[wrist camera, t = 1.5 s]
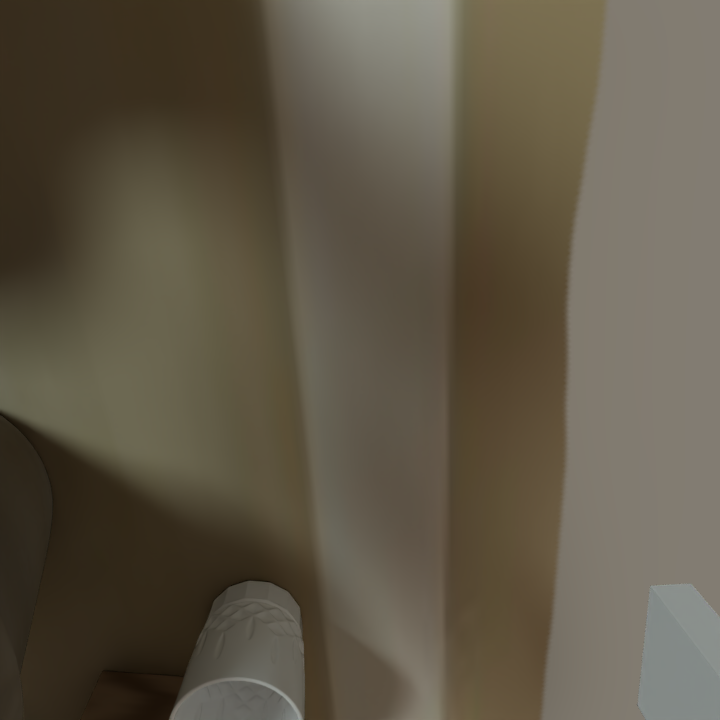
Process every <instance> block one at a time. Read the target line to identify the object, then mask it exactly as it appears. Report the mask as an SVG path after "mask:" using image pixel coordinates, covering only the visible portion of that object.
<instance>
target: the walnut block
mask: <svg viewBox="0 0 720 720" xmlns="http://www.w3.org/2000/svg"><path fill="white" fill-rule="evenodd" d="M183 678H184V677H179V676H166V675H152V674H138V673H125V672H111V671H102V673H101V675H100V678H99V680H98V682H97V684H96V686H95V689H94V691H93V693H92V695H91V697H90V700H89V702H88V704H87V706H86V708H85V711H84V713H83V715H82V717H81V719H80V720H169V718H170V715H171V712H172V709H173V707H174V704H175V701H176V698H177V695H178V692H179V690H180V687H181V684H182V681H183Z"/></svg>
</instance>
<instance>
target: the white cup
mask: <svg viewBox="0 0 720 720" xmlns="http://www.w3.org/2000/svg"><path fill="white" fill-rule="evenodd" d="M302 631H303V626H302V618H301V612H300V607H299V605H298V604H297V603H296V601H295V600H294V599H293V597H292V596H291V595H290V593H289V592H288V591H286V590H284V589H282V588H280V587H278V586H276V585H274V584H272V583H270V582H261V581H246V582H243V583H239V584H236V585H233V586H230V587H228V588H227V589H226V590H225V591H224V592H223V593H222V594H220V595H219V596H218V597H217V598H216V599H215V600H214V602H213V605H212V607H211V610H210V613H209V616H208V619H207V622H206V624H205V626H204V628H203V630H202V631H201V632H200V635H199V638H198V641H197V643H196V645H195V648H194V651H193V654H192V656H191V658H190V661H189V663H188V666H187V669H186V672H185V676H184V678H183V681H182V684H181V687H180V690H179V692H178V695H177V698H176V701H175V704H174V707H173V709H172V712H171V715H170V718H169V720H305V673H304V642H303V639H302Z"/></svg>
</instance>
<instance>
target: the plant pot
mask: <svg viewBox="0 0 720 720" xmlns="http://www.w3.org/2000/svg"><path fill="white" fill-rule="evenodd" d="M52 513H53V498H52V490H51V485H50V481H49V478H48V474H47V472H46V469H45V467H44V465H43V463H42V460H41V458H40V457H39V455H38V454H37V452H36V450H35V449H34V447H33V446H32V445H31V443H30V442H29V441H28V440H27V439H26V437H25V436H24V435H23V434H22V433H21V432H20V431H19V430H18V429H17V428H16V427H15V426H14V425H12V424H11V423H10V422H9V421H7V420H6V419H5V418H4V417H2V416H1V415H0V720H23V695H22V685H21V679H20V672H21V668H22V663H23V659H24V654H25V650H26V646H27V641H28V637H29V632H30V628H31V623H32V619H33V614H34V609H35V605H36V600H37V596H38V591H39V587H40V582H41V577H42V573H43V568H44V564H45V559H46V555H47V549H48V544H49V538H50V532H51V524H52Z"/></svg>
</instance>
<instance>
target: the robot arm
mask: <svg viewBox="0 0 720 720" xmlns="http://www.w3.org/2000/svg"><path fill="white" fill-rule="evenodd" d="M639 686H640V687H639V695H638V705H637V706H638V707H639V709H640V711H641V712H642V714H643V716H644V718H645V720H720V617H719V616H718V615H717V613H716V612H715V611H714V610H713V609H712V608H711V607H710V605H709V604H708V603H707V602H706V601H705V599H704V598H703V597H702V596H701V595H700V594H699V592H698V591H697V590H696V589H695V588H694V587H693V585H692V584H673V585H656V586H650V593H649V602H648V612H647V621H646V630H645V640H644V648H643V658H642V667H641V677H640V685H639Z"/></svg>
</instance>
